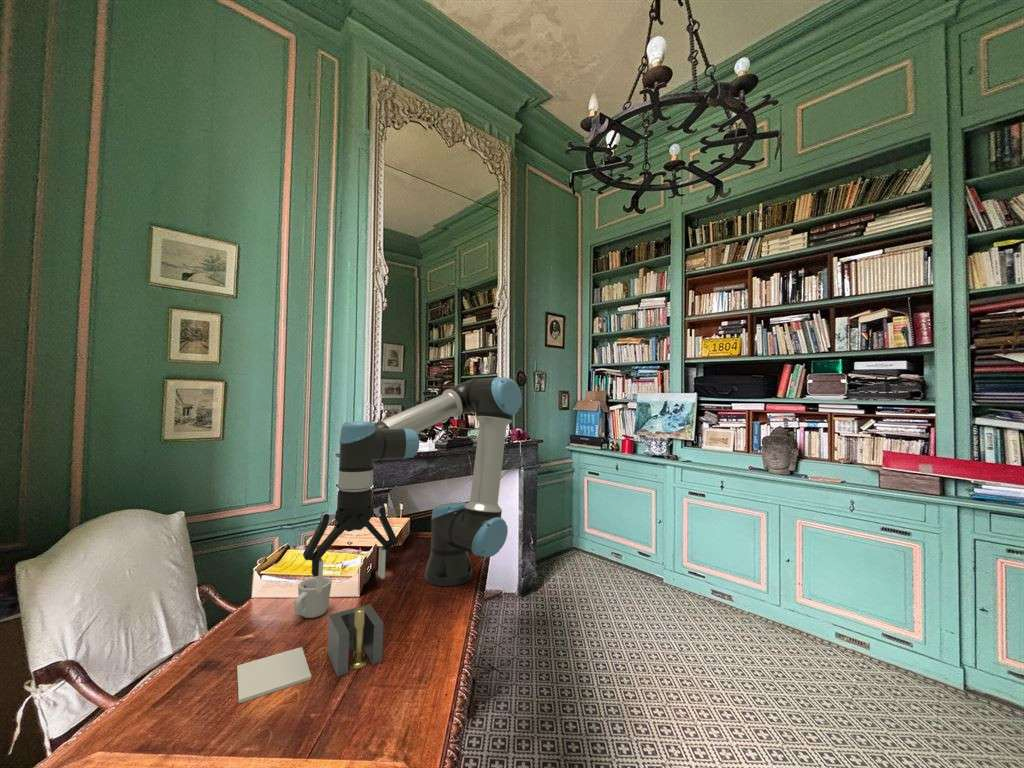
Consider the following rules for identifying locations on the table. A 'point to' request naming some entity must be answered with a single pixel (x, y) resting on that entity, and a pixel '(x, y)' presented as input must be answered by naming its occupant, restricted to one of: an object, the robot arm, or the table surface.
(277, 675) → the pad
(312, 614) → the cup
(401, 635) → the table surface
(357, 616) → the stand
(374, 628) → the grey u-shaped block
